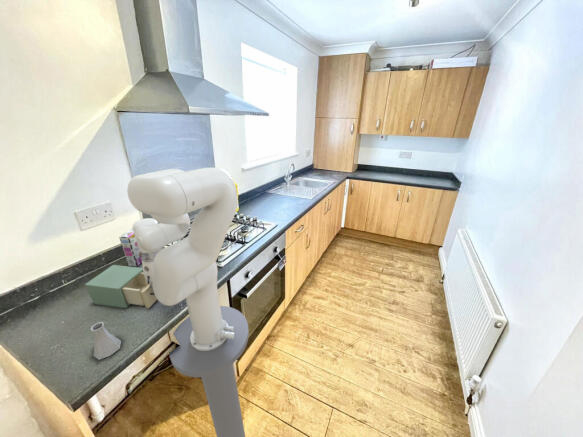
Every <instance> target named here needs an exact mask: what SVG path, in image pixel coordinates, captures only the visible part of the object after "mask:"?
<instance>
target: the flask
mask: <svg viewBox="0 0 583 437" xmlns="http://www.w3.org/2000/svg"><path fill="white" fill-rule="evenodd" d="M90 331H91V332H93V336H94V347H93V357H94V358H95V359H97V360H98V361H100V360H103V359H105V358H108V357H110V356H112V355H113V354H114V353H116V352H117V351H118V350H120V349H121V344H122V340H121V339H120V338H118V337H116V336H115V335H114V334H112V333H110V332H109V331H108V330H107V329H106V328H105V323H104V322H103V321H99V322H96V323H94V324H93V325H91V327H90Z"/></svg>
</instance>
